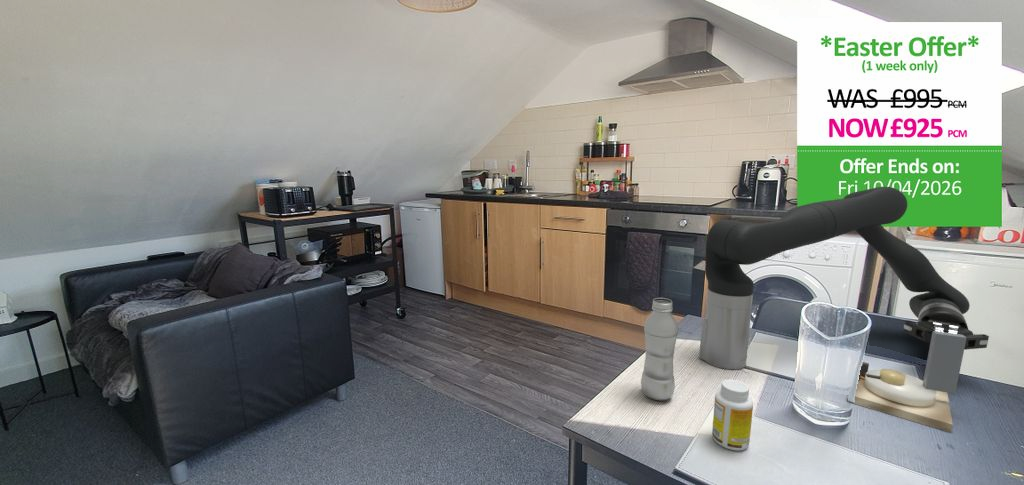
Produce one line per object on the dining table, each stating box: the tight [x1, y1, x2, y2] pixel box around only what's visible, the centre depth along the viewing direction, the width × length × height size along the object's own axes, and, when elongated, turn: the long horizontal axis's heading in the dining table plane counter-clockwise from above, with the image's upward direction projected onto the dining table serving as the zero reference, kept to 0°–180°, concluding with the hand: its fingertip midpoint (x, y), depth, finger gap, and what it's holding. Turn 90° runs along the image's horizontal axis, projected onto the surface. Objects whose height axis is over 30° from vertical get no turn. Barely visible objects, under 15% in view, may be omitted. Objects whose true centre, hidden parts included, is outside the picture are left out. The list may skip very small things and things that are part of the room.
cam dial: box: [864, 331, 967, 407], centre depth 78 cm, size 12×10×13 cm
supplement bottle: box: [711, 378, 754, 452], centre depth 68 cm, size 6×6×10 cm
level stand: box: [854, 361, 954, 433], centre depth 80 cm, size 14×14×4 cm
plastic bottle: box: [640, 297, 679, 402], centre depth 81 cm, size 6×7×20 cm
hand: (946, 346), depth 81 cm, fingers closed
